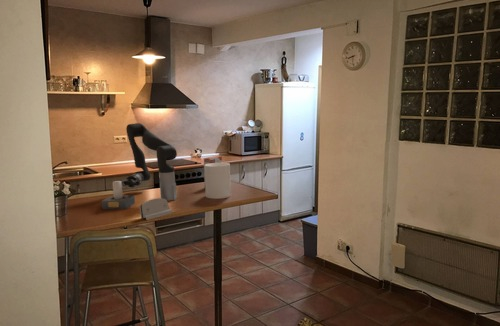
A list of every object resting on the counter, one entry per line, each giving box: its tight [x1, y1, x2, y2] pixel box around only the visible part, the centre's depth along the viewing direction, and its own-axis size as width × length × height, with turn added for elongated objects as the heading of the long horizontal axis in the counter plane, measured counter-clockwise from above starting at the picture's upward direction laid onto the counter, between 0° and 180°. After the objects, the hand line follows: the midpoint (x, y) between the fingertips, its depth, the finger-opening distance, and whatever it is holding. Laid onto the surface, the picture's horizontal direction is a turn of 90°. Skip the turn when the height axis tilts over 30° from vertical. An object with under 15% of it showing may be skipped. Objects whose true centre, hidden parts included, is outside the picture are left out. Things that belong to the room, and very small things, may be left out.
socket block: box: [100, 194, 136, 210], centre depth 236 cm, size 14×14×5 cm
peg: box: [112, 180, 124, 199], centre depth 235 cm, size 5×5×14 cm
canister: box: [203, 162, 232, 200], centre depth 254 cm, size 16×16×20 cm
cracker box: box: [203, 155, 223, 182], centre depth 285 cm, size 14×6×21 cm, turn 147°
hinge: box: [139, 197, 173, 221], centre depth 213 cm, size 17×5×10 cm, turn 138°
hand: (124, 185), depth 245 cm, fingers open, 8 cm apart
